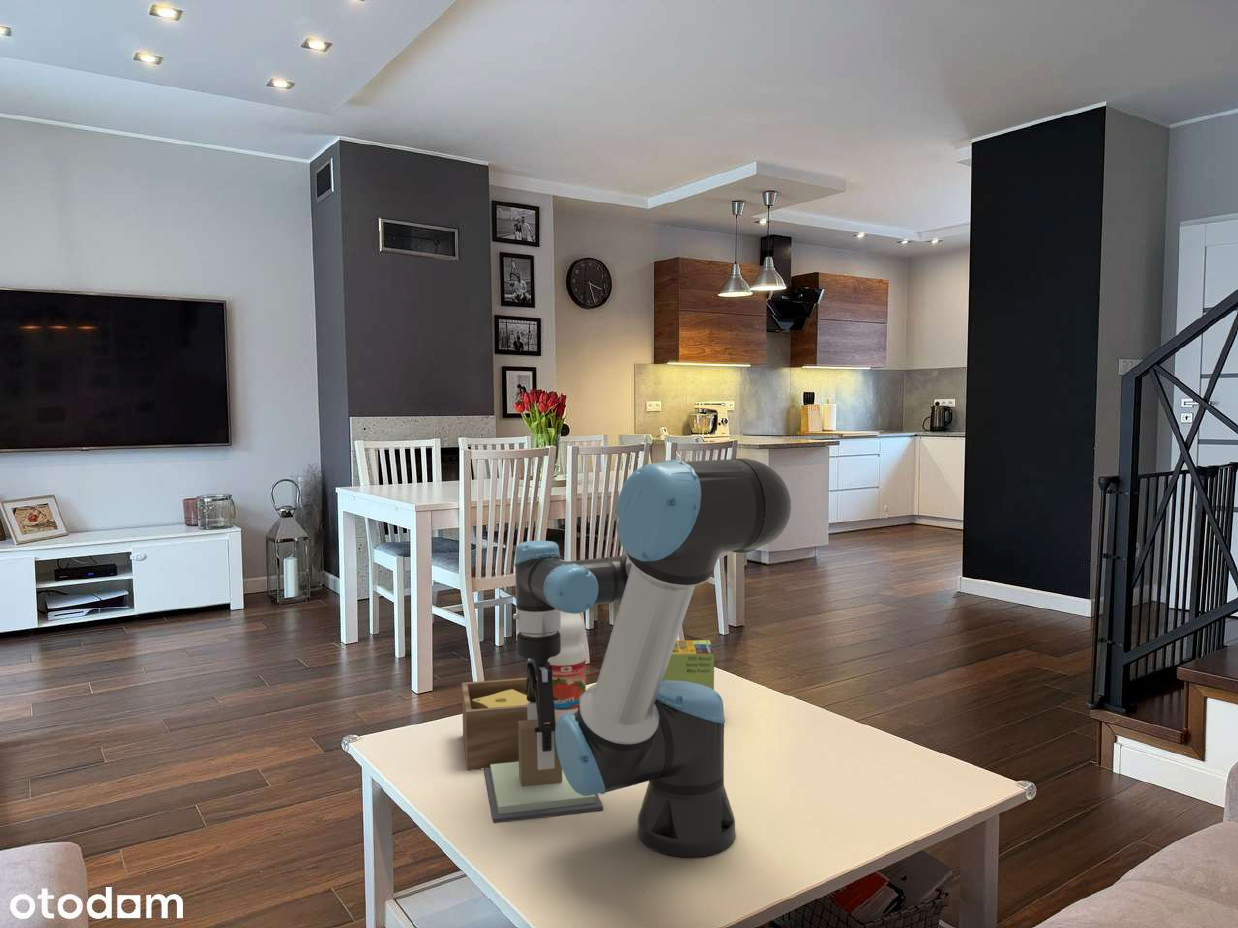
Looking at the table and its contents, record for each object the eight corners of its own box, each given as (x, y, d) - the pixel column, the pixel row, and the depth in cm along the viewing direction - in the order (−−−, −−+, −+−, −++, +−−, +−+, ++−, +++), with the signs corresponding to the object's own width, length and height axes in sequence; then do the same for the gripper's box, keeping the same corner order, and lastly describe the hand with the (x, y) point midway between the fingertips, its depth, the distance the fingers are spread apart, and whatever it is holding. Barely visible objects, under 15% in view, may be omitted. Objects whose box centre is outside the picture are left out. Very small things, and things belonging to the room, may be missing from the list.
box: (553, 761, 160) (553, 704, 159) (467, 770, 156) (466, 711, 155) (541, 728, 176) (540, 676, 175) (463, 735, 173) (462, 682, 172)
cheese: (499, 764, 159) (498, 712, 158) (469, 747, 167) (468, 697, 166) (544, 749, 165) (544, 699, 165) (513, 734, 174) (512, 686, 173)
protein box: (715, 726, 177) (715, 653, 176) (640, 726, 177) (640, 653, 176) (710, 708, 187) (710, 639, 186) (640, 709, 187) (639, 639, 186)
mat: (603, 809, 140) (603, 806, 140) (493, 822, 136) (493, 818, 136) (581, 761, 160) (581, 758, 160) (484, 770, 156) (484, 767, 156)
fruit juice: (585, 705, 190) (584, 581, 188) (586, 720, 180) (585, 590, 179) (542, 706, 189) (541, 582, 187) (542, 722, 180) (540, 591, 178)
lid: (595, 803, 141) (594, 737, 141) (498, 813, 138) (497, 746, 137) (577, 761, 158) (576, 702, 157) (490, 770, 154) (489, 710, 154)
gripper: (509, 616, 157) (511, 728, 159) (525, 652, 133) (527, 784, 134) (549, 613, 159) (551, 724, 160) (572, 649, 135) (574, 779, 136)
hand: (540, 752), depth 147 cm, fingers open, 13 cm apart
